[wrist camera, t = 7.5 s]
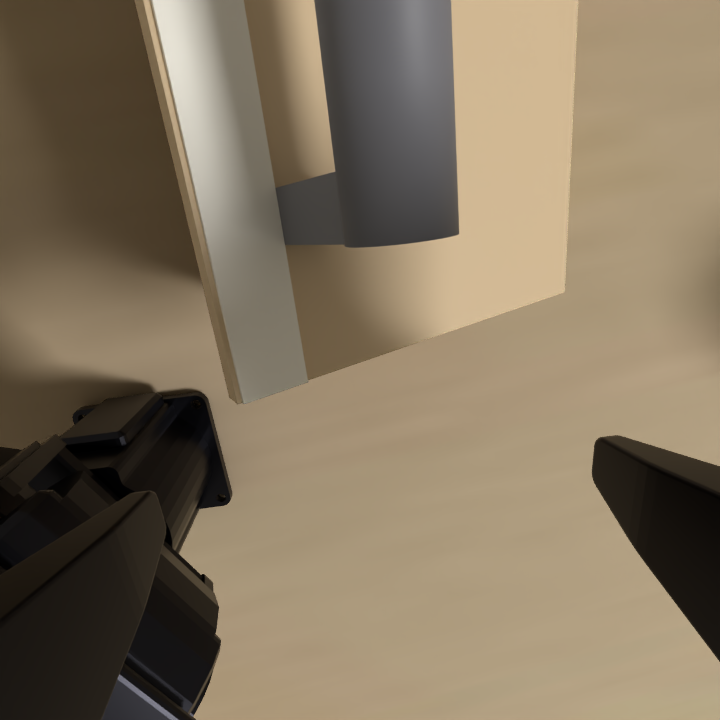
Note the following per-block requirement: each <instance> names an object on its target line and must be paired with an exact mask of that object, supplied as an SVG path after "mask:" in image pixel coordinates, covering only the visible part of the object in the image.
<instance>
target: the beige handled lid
mask: <svg viewBox="0 0 720 720" xmlns="http://www.w3.org/2000/svg"><path fill="white" fill-rule="evenodd" d="M135 4H136V9H137V13H138V17H139V21H140V25H141V29H142V34H143V38H144V42H145V46H146V50H147V55H148V59H149V63H150V67H151V71H152V75H153V80H154V84H155V88H156V92H157V96H158V101H159V105H160V109H161V113H162V117H163V121H164V126H165V130H166V134H167V138H168V142H169V147H170V151H171V155H172V159H173V163H174V167H175V172H176V176H177V180H178V184H179V188H180V193H181V197H182V201H183V205H184V209H185V213H186V218H187V222H188V226H189V230H190V234H191V239H192V243H193V247H194V251H195V255H196V259H197V264H198V268H199V272H200V276H201V280H202V285H203V289H204V293H205V297H206V301H207V305H208V310H209V314H210V318H211V322H212V326H213V331H214V335H215V339H216V343H217V347H218V351H219V356H220V360H221V364H222V368H223V372H224V377H225V381H226V385H227V389H228V393H229V397H230V398H231V399H232V400H233V401H234V402H235V403H237V404H240V403H243V404H246V403H249V402H252V401H255V400H258V399H261V398H264V397H267V396H270V395H273V394H275V393H278V392H281V391H284V390H287V389H290V388H293V387H296V386H299V385H301V384H304V383H307V382H308V380H310V379H313V378H316V377H319V376H322V375H325V374H328V373H331V372H334V371H336V370H339V369H342V368H345V367H348V366H351V365H354V364H357V363H360V362H363V361H366V360H368V359H371V358H374V357H377V356H380V355H383V354H386V353H389V352H392V351H395V350H398V349H401V348H403V347H406V346H409V345H412V344H415V343H418V342H421V341H424V340H427V339H430V338H433V337H436V336H438V335H441V334H444V333H447V332H450V331H453V330H456V329H459V328H462V327H465V326H468V325H470V324H473V323H476V322H479V321H482V320H485V319H488V318H491V317H494V316H497V315H500V314H503V313H505V312H508V311H511V310H514V309H517V308H520V307H523V306H526V305H529V304H532V303H535V302H537V301H540V300H543V299H546V298H549V297H552V296H555V295H558V294H561V293H564V292H565V276H566V255H567V233H568V212H569V190H570V169H571V147H572V126H573V104H574V83H575V61H576V40H577V18H578V0H135Z"/></svg>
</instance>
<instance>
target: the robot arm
mask: <svg viewBox="0 0 720 720" xmlns="http://www.w3.org/2000/svg"><path fill="white" fill-rule="evenodd" d="M193 400H198V401H199V402H200V403H201V406H196V405H195V404H194V403H193ZM83 415H86V416H85V417H83ZM73 421H74V424H75V425H74V426H73V427H71V428H70V429H69V430H68V431H67V432H65V433H64V434H63V435H62V436H60V437H59V436H58V435H57V434H55V435H53V436H52V437H50V438H49V439H47V440H46V441H45V442H43V443H42V444H39V443H38V442H37V441H35V442H34V443H33V444H31V445H30V446H28V447H27V448H24V449H23V450H19V449H12V448H4V447H0V720H196V719H195V718H194V717H193V716H194V714H195V712H196V710H197V708H198V707H199V705H200V703H201V701H202V699H203V697H204V695H205V692H206V690H207V688H208V685H209V683H210V680H211V676H212V672H213V669H214V666H215V663H216V660H217V657H218V655H219V652H220V645H221V640H220V638H219V637H218V636H217V635H216V634H215V633H216V628H217V619H218V611H219V606H218V603H217V600H216V597H215V594H214V592H213V582H212V581H211V580H210V579H209V578H208V577H207V576H206V575H204V574H202V575H200V574H199V573H198V572H197V571H196V570H195V569H194V568H193V567H192V566H191V565H190V564H189V563H188V562H187V561H186V560H184V559H183V558H182V557H181V556H180V555H179V552H180V550H181V548H182V545H183V543H184V541H185V539H186V537H187V535H188V532H189V530H190V528H191V526H192V524H193V522H194V519H195V517H196V515H197V513H198V511H199V509H202V508H209V507H217V506H224V505H227V504H228V503H229V502H230V500H231V497H232V490H231V486H230V482H229V478H228V474H227V470H226V466H225V463H224V459H223V455H222V451H221V447H220V443H219V439H218V435H217V432H216V428H215V424H214V420H213V416H212V412H211V408H210V404H209V401H208V398H207V397H206V396H205V395H204V394H202V393H200V392H194V393H186V394H178V395H170V396H163V397H162V395H160V394H158V393H148V394H141V395H133V396H125V397H117V398H109V399H106V400H105V401H103V402H102V403H101V404H100V405H92V406H84V407H81V408H80V409H78V410H77V411H76V412H75V413H74V414H73ZM592 477H593V481H594V483H595V485H596V487H597V488H598V490H599V492H600V493H601V495H602V497H603V498H604V500H605V501H606V503H607V505H608V506H609V508H610V510H611V511H612V513H613V514H614V516H615V518H616V519H617V521H618V523H619V524H620V526H621V528H622V529H623V531H624V532H625V534H626V536H627V537H628V539H629V540H630V542H631V543H632V545H633V546H634V548H635V550H636V551H637V552H638V554H639V555H640V556H641V558H642V559H643V561H644V562H645V563H646V565H647V566H648V567H649V569H650V570H651V571H652V573H653V574H654V575H655V577H656V578H657V579H658V581H659V582H660V583H661V585H662V586H663V587H664V588H665V590H666V591H667V592H668V594H669V595H670V596H671V598H672V599H673V600H674V602H675V603H676V604H677V606H678V607H679V608H680V610H681V611H682V612H683V614H684V615H685V616H686V618H687V619H688V620H689V622H690V623H691V624H692V626H693V627H694V628H695V630H696V631H697V632H698V634H699V635H700V636H701V637H702V639H703V640H704V641H705V643H706V644H707V645H708V647H709V648H710V649H711V651H712V652H713V653H714V655H715V656H716V657H717V659H718V660H719V661H720V466H717V465H713V464H710V463H707V462H704V461H700V460H697V459H694V458H691V457H687V456H684V455H681V454H678V453H674V452H671V451H668V450H665V449H661V448H658V447H655V446H652V445H648V444H645V443H642V442H639V441H635V440H632V439H629V438H626V437H622V436H618V435H614V436H606V437H600V438H598V439H597V440H596V442H595V445H594V455H593V465H592ZM218 494H223V495H225V497H221V496H219V495H218Z"/></svg>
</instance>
